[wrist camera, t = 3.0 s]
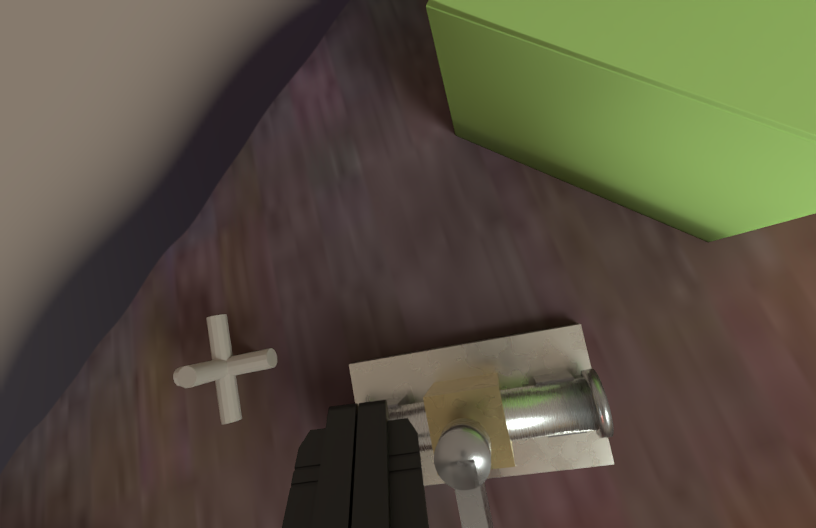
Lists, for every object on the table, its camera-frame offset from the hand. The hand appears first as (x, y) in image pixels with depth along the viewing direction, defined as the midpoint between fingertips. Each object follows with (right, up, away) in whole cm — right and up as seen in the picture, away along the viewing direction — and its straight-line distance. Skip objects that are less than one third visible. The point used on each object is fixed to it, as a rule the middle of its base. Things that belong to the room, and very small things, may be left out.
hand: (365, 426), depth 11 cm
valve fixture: (+7, -9, +28) cm, 31 cm away
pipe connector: (-15, -6, +33) cm, 37 cm away
